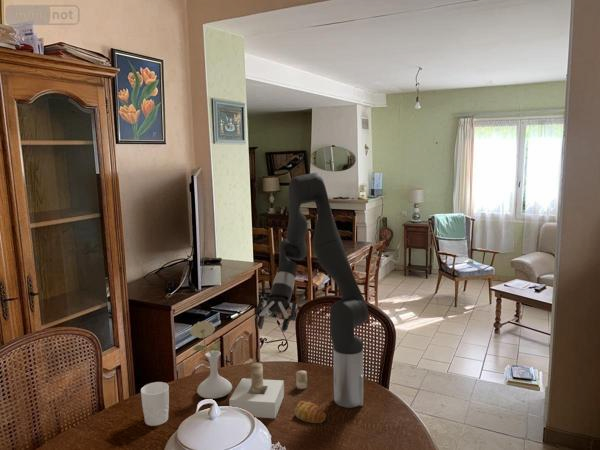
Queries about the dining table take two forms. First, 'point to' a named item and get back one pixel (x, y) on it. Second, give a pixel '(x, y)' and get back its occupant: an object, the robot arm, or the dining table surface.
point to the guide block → (259, 398)
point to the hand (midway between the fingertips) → (271, 329)
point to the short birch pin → (301, 379)
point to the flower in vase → (214, 383)
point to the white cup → (155, 403)
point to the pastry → (309, 412)
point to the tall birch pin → (257, 378)
